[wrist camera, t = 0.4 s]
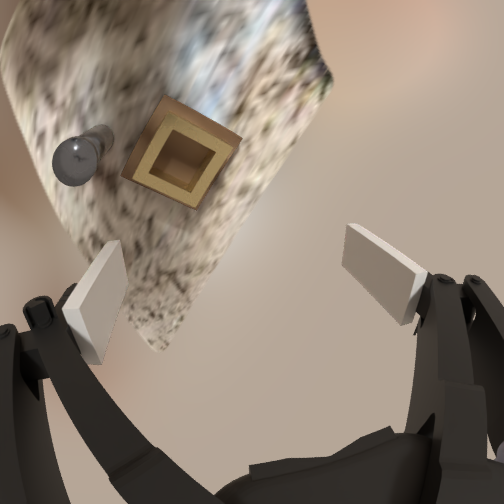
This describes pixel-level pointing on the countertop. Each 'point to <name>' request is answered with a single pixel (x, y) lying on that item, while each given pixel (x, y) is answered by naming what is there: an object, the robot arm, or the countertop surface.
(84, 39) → the countertop surface
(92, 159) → the pin
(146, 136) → the socket base
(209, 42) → the countertop surface
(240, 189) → the countertop surface
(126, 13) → the countertop surface
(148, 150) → the square socket frame
